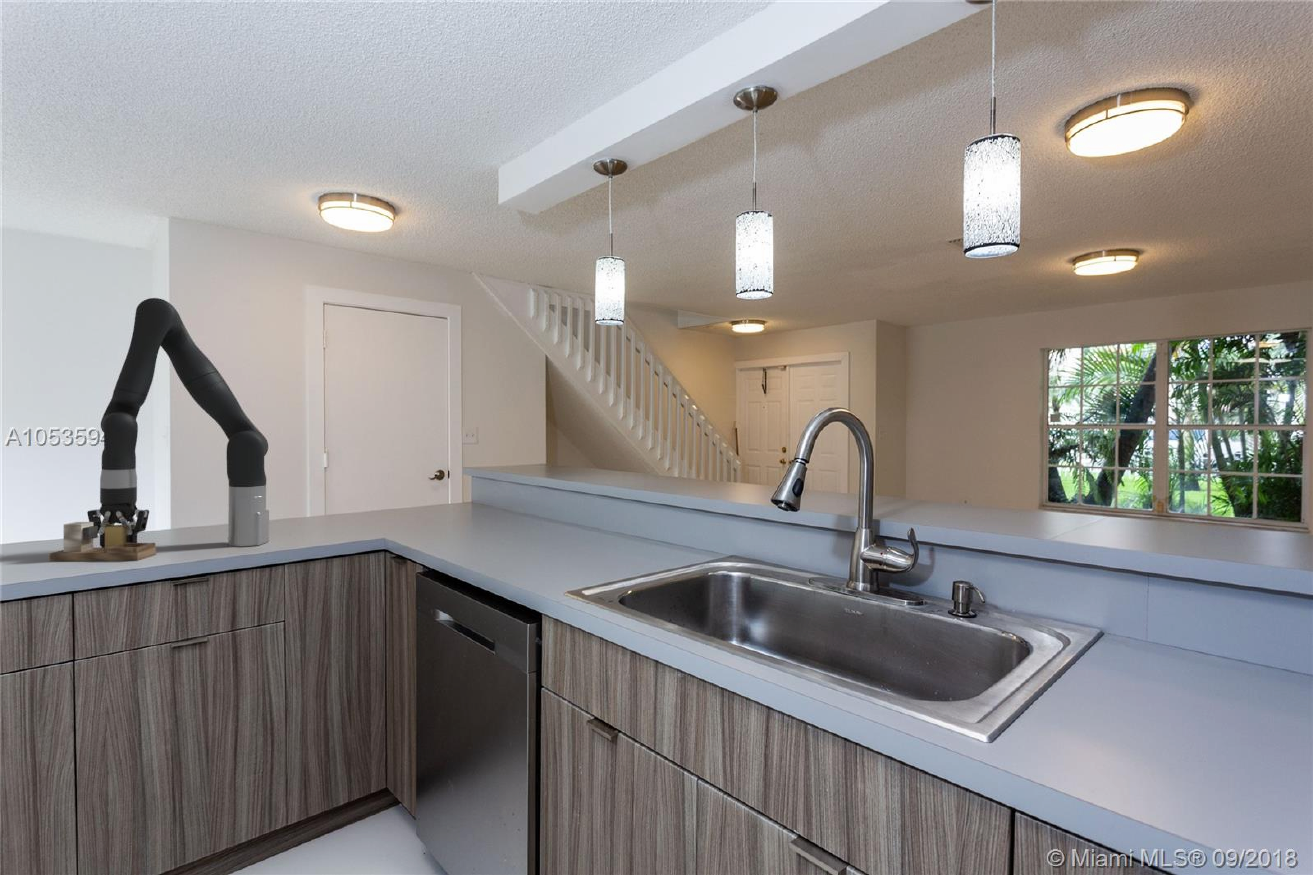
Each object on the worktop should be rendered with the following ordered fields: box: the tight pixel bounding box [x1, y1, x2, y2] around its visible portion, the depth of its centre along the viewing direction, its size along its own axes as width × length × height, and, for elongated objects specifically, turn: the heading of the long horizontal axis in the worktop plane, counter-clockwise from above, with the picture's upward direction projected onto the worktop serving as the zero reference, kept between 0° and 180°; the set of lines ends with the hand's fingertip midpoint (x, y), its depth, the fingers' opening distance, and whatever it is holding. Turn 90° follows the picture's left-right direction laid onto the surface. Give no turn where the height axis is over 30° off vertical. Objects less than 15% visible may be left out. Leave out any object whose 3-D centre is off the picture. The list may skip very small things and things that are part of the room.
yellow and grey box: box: [105, 524, 129, 548], centre depth 168 cm, size 5×4×7 cm
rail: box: [49, 521, 157, 562], centre depth 159 cm, size 20×7×9 cm, turn 98°
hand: (118, 547), depth 167 cm, fingers open, 5 cm apart
